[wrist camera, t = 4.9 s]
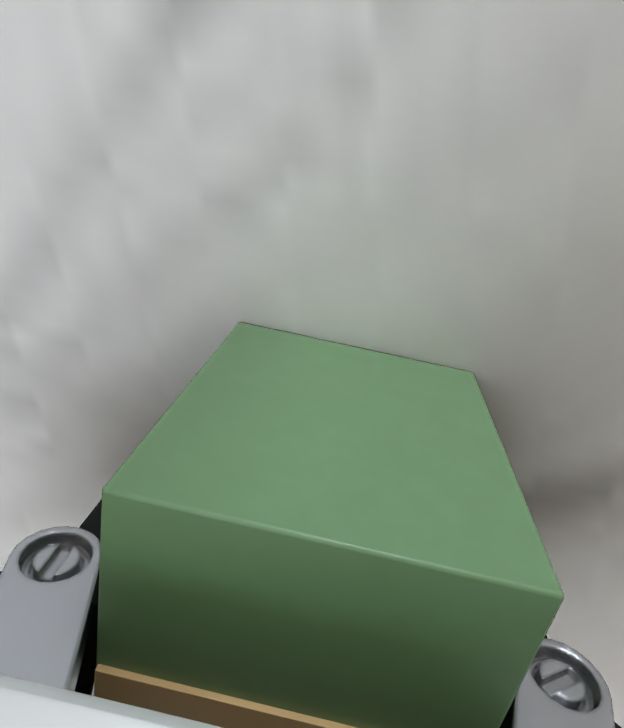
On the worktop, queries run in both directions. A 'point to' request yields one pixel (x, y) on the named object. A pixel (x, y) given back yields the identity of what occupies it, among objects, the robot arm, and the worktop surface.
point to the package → (320, 548)
